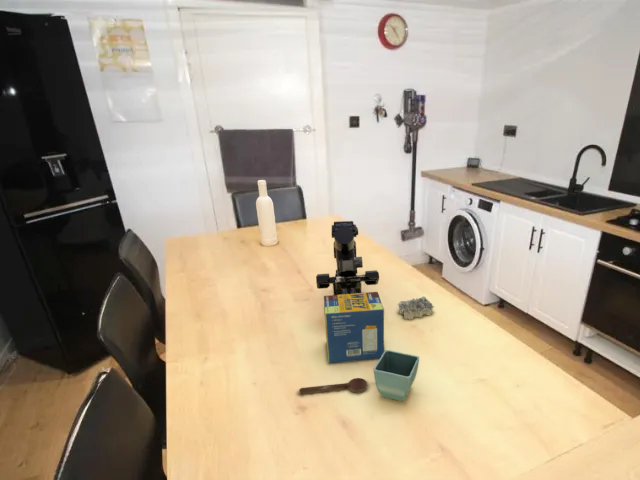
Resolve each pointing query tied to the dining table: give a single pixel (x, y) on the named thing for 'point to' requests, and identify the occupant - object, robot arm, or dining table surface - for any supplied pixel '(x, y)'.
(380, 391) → the flower pot
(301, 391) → the wooden spoon
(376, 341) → the protein box
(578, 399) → the dining table surface
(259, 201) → the bottle
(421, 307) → the egg carton
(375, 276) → the robot arm
